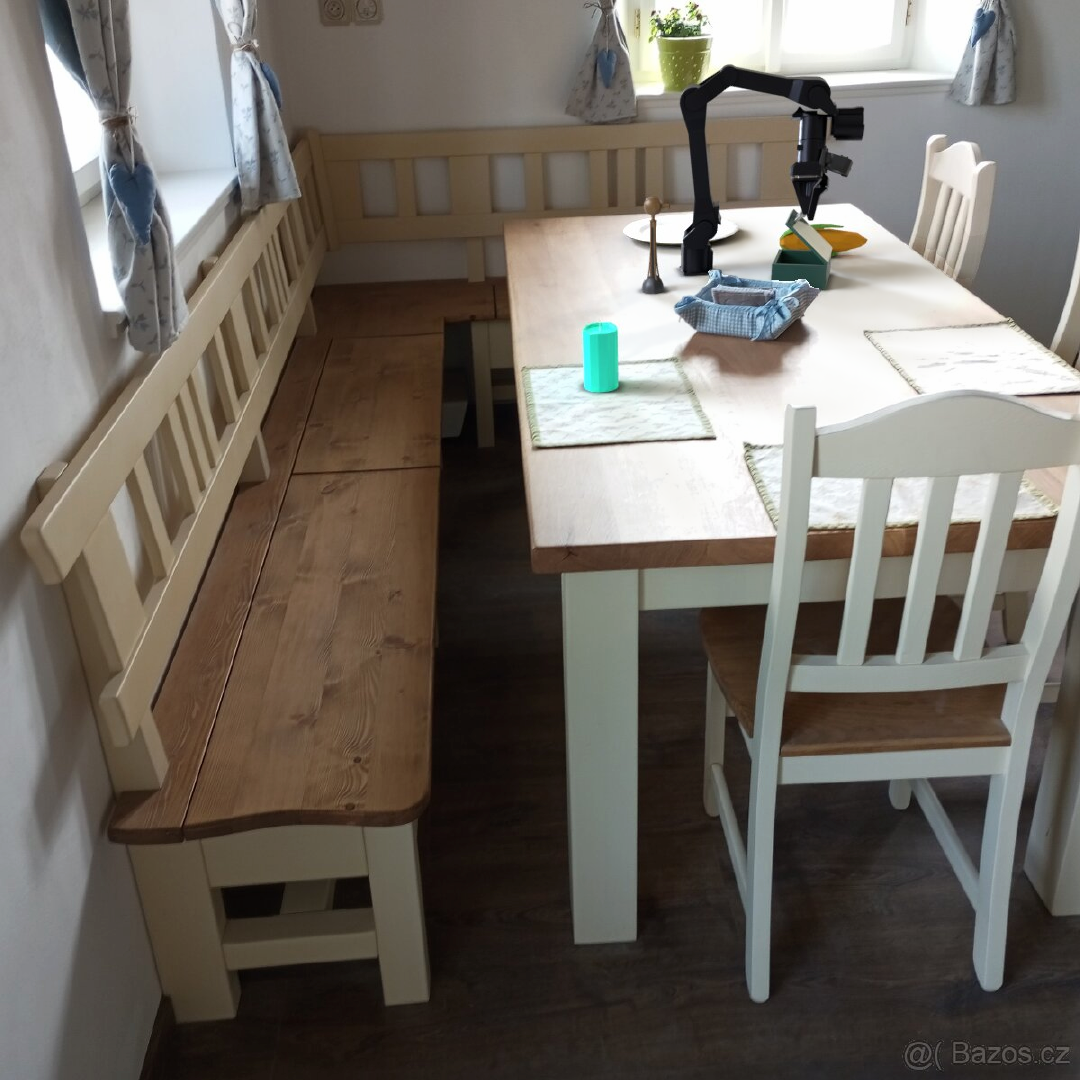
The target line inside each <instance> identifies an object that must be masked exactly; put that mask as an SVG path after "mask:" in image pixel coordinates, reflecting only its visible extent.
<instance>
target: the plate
mask: <svg viewBox="0 0 1080 1080" xmlns="http://www.w3.org/2000/svg"><path fill="white" fill-rule="evenodd" d="M649 220H651V217H649V218H645V219H641V220H636V221H634V222H632V223H631V222H630V224H628V225H627V226H625V227H624V229H623V233H624V235H625V236H626V237H628V238H630V239H632V240H635V241H638V242H643V243H648V244H650V221H649ZM655 220H657V221H656V245H659V246H679V247H681V243H683V241H682V240H683V235H684V231H685V230H686V229H687V228H688V227H689V226H690V225H691V224H692V223H693V214H686V215H685V214H683V215H682V214H679V215H678V214H677V215H663V216H655ZM737 232H739V225H737V224H736V222H734V221H731V220H729V219H726V218H722V217H721V225H718V232H717V234H716V235H715V236H714V237H713V238H712V239H710V240H709V243H712V242H716V241H720V240H724V239H727V238H729V237H732V236H734V235H735V234H737Z"/></svg>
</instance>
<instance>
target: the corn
mask: <svg viewBox="0 0 1080 1080" xmlns="http://www.w3.org/2000/svg"><path fill="white" fill-rule="evenodd" d="M810 225H811V226H812V227H813V228H814V229H815V230H816V231H817V232H818V233H819V234H820V235H821V236H822V237H823V238H824V239H825V240H826V241H827V242H828V243H829V244H830V245H831V246H832V247H833V249H832V252H831V257H835V256H838V255H839V254H838V253H843V252H848V251H851V250H855V249H858V248H861V247H863V246H864V245H865V244H867V243H868V239H867V238H866V237H864V236H863V235H862V234H860V233H859V232H856V231H847V230H843V229H842V230H841V229H840V228H845V226H844V225H841V224H834V223H833V224H832V223H816V224H815V223H814V224H813V223H812V224H810ZM834 228H835V229H834ZM779 247H780V249H783V250H810V249H809V248H808V247H807V246H806V245H805V244H804V243H803V242H802V241H801V240H800V239H799V238H798V237H797V236H796V235H795V234H794V233H793V232H792V231H791V230H790V229H789V228H788V229H786V230H785V231H784V232H783V234H781V236H780V238H779Z"/></svg>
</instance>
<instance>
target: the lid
mask: <svg viewBox="0 0 1080 1080" xmlns="http://www.w3.org/2000/svg"><path fill="white" fill-rule="evenodd" d="M805 217H807V215H803V214H802V211H801V210H800V211H799V212H798V211H797V210H796V209H795V208H793V209H792V210H791V211H790V213H789V215H788V218H787V219H786V221H785V223H784V225H785V226H786V227H787V228H788V230H789V229H790V230H791V231H792V232H793V233H794V234H795V235H796V236H797V237H798V238H799V239H800V240H801V241H802V242H803V243H804V244H805V245H806V246H807V247H808V248H809V249H810V250H811V251H812V252H813V253H814V254H815V255H816V256H817V257H818V258H819V259H820V260H821V261H822V262H823V263H824V264H825V265H827V264H828V262H829V259H830V255H831V252H832V249H833V247H832V246H831V245H830V244H829V243H828V242H827V241H826V240H825V239H824V238H823V237H822V236H821V235H820V234H819V233H818V232H817V231H816V230H815V229H814V228H813V227H812V226H811V225H812V224H810V223H809V222H808V220H806V219H805Z"/></svg>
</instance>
